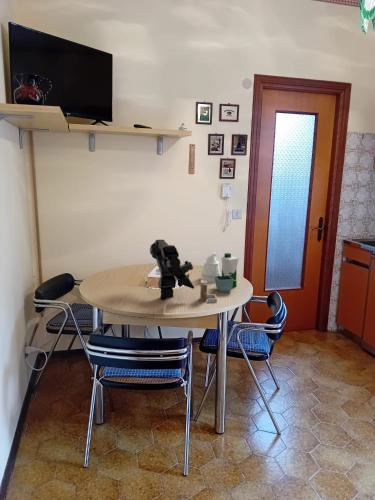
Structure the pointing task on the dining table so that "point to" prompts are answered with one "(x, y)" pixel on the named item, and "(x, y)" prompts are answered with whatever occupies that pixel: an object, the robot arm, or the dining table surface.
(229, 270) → the milk carton
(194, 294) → the dining table surface
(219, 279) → the flower pot
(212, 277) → the white rounded cone
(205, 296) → the block
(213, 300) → the slate board
